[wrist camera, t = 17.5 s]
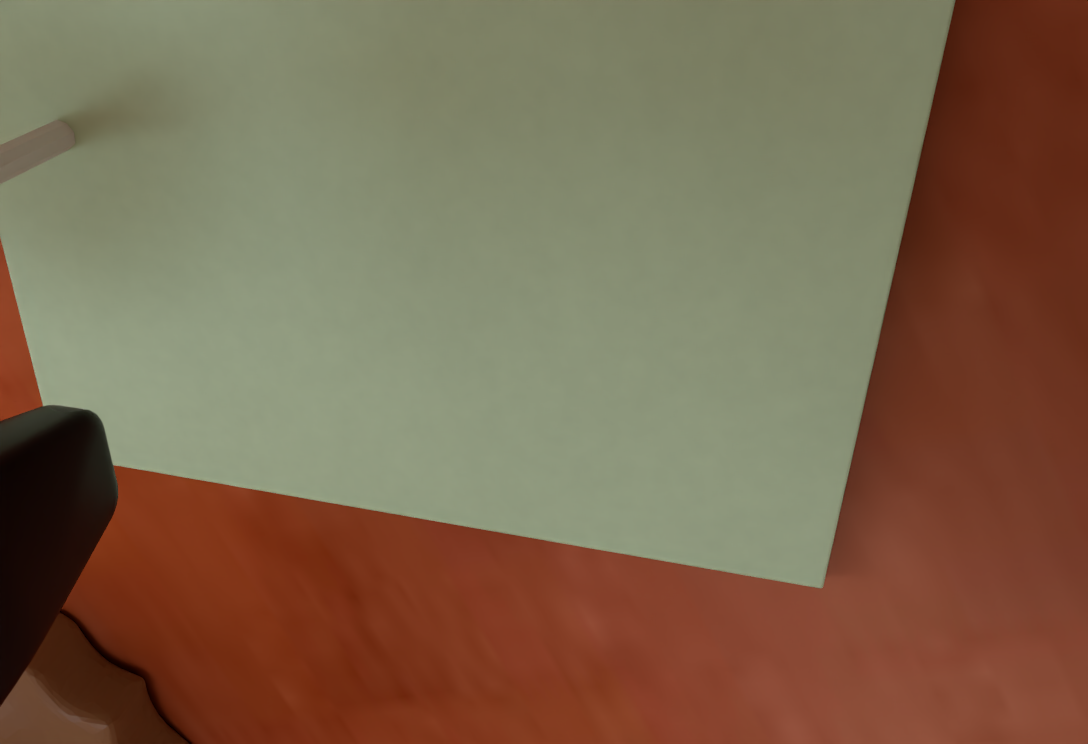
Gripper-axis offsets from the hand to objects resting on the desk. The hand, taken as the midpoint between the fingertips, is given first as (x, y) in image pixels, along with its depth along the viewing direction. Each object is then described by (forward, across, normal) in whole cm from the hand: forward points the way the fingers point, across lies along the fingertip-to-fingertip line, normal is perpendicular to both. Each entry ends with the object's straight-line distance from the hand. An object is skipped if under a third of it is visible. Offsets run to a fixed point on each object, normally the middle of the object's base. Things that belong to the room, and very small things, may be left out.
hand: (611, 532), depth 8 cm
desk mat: (+13, +6, +2) cm, 15 cm away
